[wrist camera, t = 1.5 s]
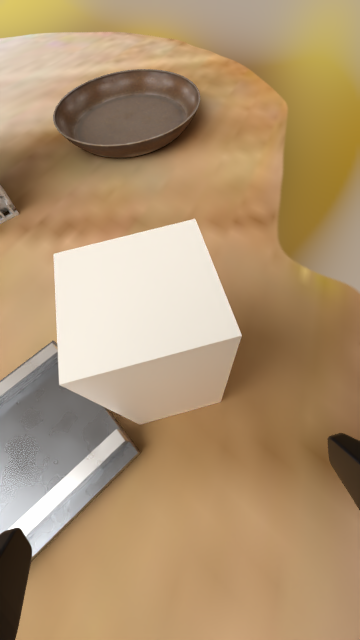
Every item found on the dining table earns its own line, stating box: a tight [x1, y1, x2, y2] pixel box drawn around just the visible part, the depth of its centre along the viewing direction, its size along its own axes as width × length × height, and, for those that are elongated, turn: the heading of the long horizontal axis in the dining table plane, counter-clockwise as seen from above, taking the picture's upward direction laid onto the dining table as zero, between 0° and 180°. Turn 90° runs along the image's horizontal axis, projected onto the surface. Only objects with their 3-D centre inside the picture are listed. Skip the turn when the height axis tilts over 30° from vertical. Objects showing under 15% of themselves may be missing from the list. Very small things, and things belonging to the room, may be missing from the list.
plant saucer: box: [53, 69, 200, 158], centre depth 39 cm, size 21×21×3 cm
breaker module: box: [54, 219, 242, 425], centre depth 17 cm, size 7×6×13 cm
